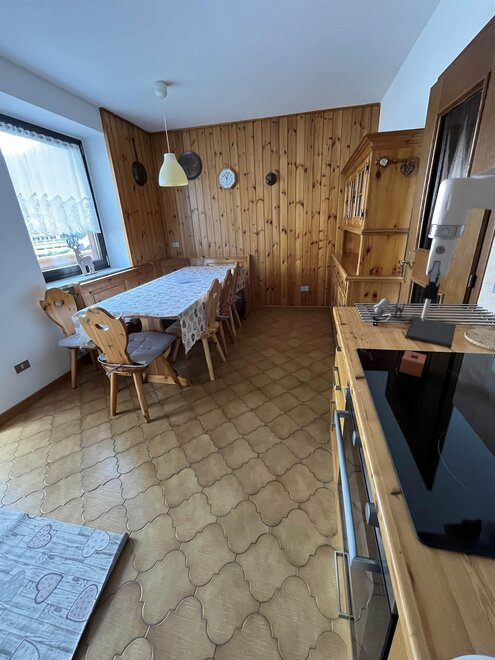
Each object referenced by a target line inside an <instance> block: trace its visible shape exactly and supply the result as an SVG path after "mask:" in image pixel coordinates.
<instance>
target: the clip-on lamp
mask: <svg viewBox="0 0 495 660" xmlns="http://www.w3.org/2000/svg"><path fill="white" fill-rule="evenodd" d="M389 304H390V300H389V299H388V298H382V299H381V300H380V301H379V303H377V304H375V305H374V306H373V310H372V311H373V312H374V314H375V315H377V316H382V317H384V316H388V318H387V319H385V320H383V321H382V323H385V322H386V321H388V320H389V319H390V318H391V316H392V314H391V313H392V312H393V311H394V312H395V313H394V318H397V314H398V312H399V314H400V315H399V318H400V317H401V318H402V314H403V311H404V309H405V306H406V303H405V302H404V303H403V304H399V303H398V302H396V303H395V305H392V307H391V306H389ZM386 310H388V312H387V313H385V312H386ZM390 312H391V313H390ZM369 317H370V318H371V319H372V320H373V321H375V322H377V321H381V319H379V318H377V317H375V316H373V315H372V316H369Z"/></svg>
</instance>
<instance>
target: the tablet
mask: <svg viewBox="0 0 495 660" xmlns="http://www.w3.org/2000/svg"><path fill="white" fill-rule="evenodd" d="M456 326H457V324H456V323H455V324H454V323H449V322H443V321H437V320H433V319H427V318H426V319H425V320H424V321H422V318H421V317H415V316H414V317H413V319H412V321H411V323H410V324H409V327H408V329H407V330H406V333H405V334H404V338H405V339H408V340H414V341H418V342H423V343H427V344H431V345H436V346H441V347H444V348H445V347H446V348H450V349H452V346H453V342H454V336H455V331H456Z"/></svg>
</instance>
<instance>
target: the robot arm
mask: <svg viewBox="0 0 495 660" xmlns="http://www.w3.org/2000/svg"><path fill="white" fill-rule="evenodd" d="M472 209H481V210H495V165H493V166H491V167H488V168H487V169H484V170H482V171H480V172H477V173H476V174H474V175H471V176H465V177H452V178H451V177H450V178H446V179H444V180H443V181H442V182H441V183H440V184H439V188H438V193H437V197H436V202H435V206H434V210H433V215H432V219H431V224H430V228H429V233H428V238H430V239H432V242H431V246H430V250H429V255H428V260H427V265H426V269H425V270H426V271H425V275H426V277H428V278H427V281H426V284H425V287H424V291H423V295H422V298H423V299H425V300H426V299H431V301H436V300H437V297H438V294H439V291H440V286H441V283H440V282H441V279H442V277H443V278H444V279H445V278H447V277H448V275H449V273H450V269H451V265H452V263H453V258H454V255H455V251H456V247H457V241H458V240H461V239H463V237H464V234H465V230H466V227H467V223H468V220H469V217H470V216H469V215H470V212H471V210H472Z"/></svg>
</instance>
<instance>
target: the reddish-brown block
mask: <svg viewBox="0 0 495 660" xmlns="http://www.w3.org/2000/svg"><path fill="white" fill-rule="evenodd" d="M426 360H427V354H423V353H419V352H414V351H413V350H412V351H411V350H407V349H406V350H405V351H404V353H403V356H402V358H401V363H400V367H399V371H398V372H400V373H403V374H407V375H411V376H415V377H418V378H421V377H422V373H423V371H424V367H425V364H426Z"/></svg>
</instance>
